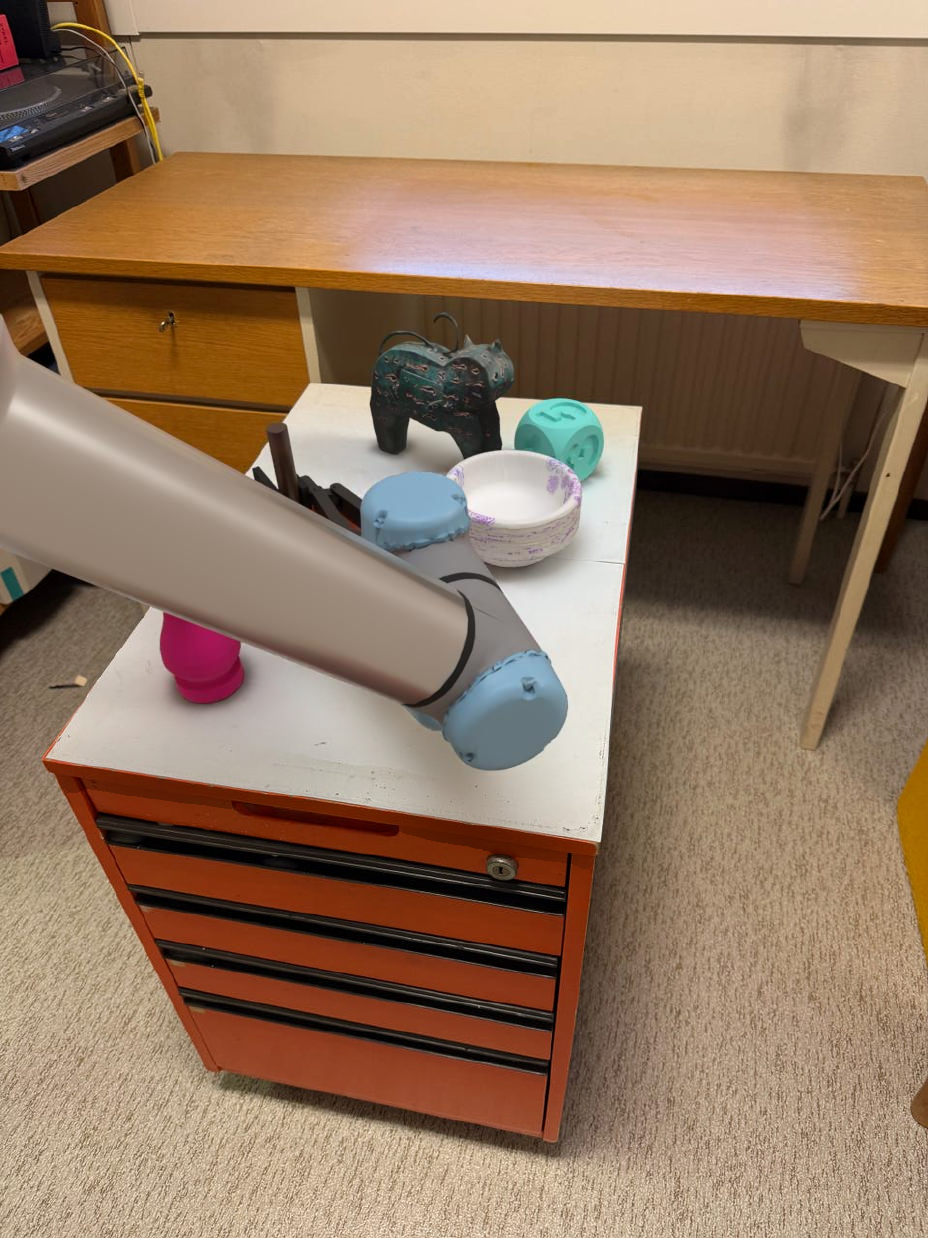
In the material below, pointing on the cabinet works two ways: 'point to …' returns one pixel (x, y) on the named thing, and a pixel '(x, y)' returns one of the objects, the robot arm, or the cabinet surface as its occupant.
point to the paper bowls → (519, 505)
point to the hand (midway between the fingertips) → (270, 474)
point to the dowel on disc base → (283, 461)
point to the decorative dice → (562, 434)
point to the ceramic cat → (440, 392)
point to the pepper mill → (200, 660)
